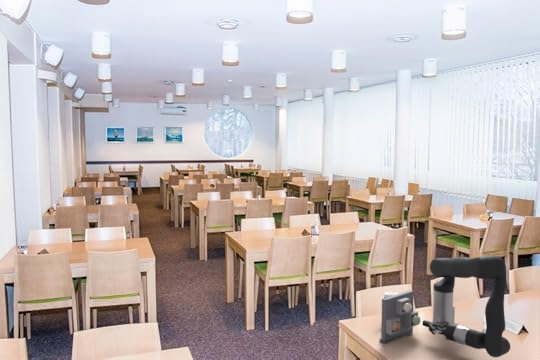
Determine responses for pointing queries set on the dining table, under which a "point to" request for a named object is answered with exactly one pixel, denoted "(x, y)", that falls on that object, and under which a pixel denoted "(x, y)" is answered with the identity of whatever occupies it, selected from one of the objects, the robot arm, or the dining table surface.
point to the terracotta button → (395, 326)
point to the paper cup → (389, 294)
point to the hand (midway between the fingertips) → (423, 322)
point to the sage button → (415, 320)
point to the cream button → (406, 307)
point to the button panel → (396, 316)
